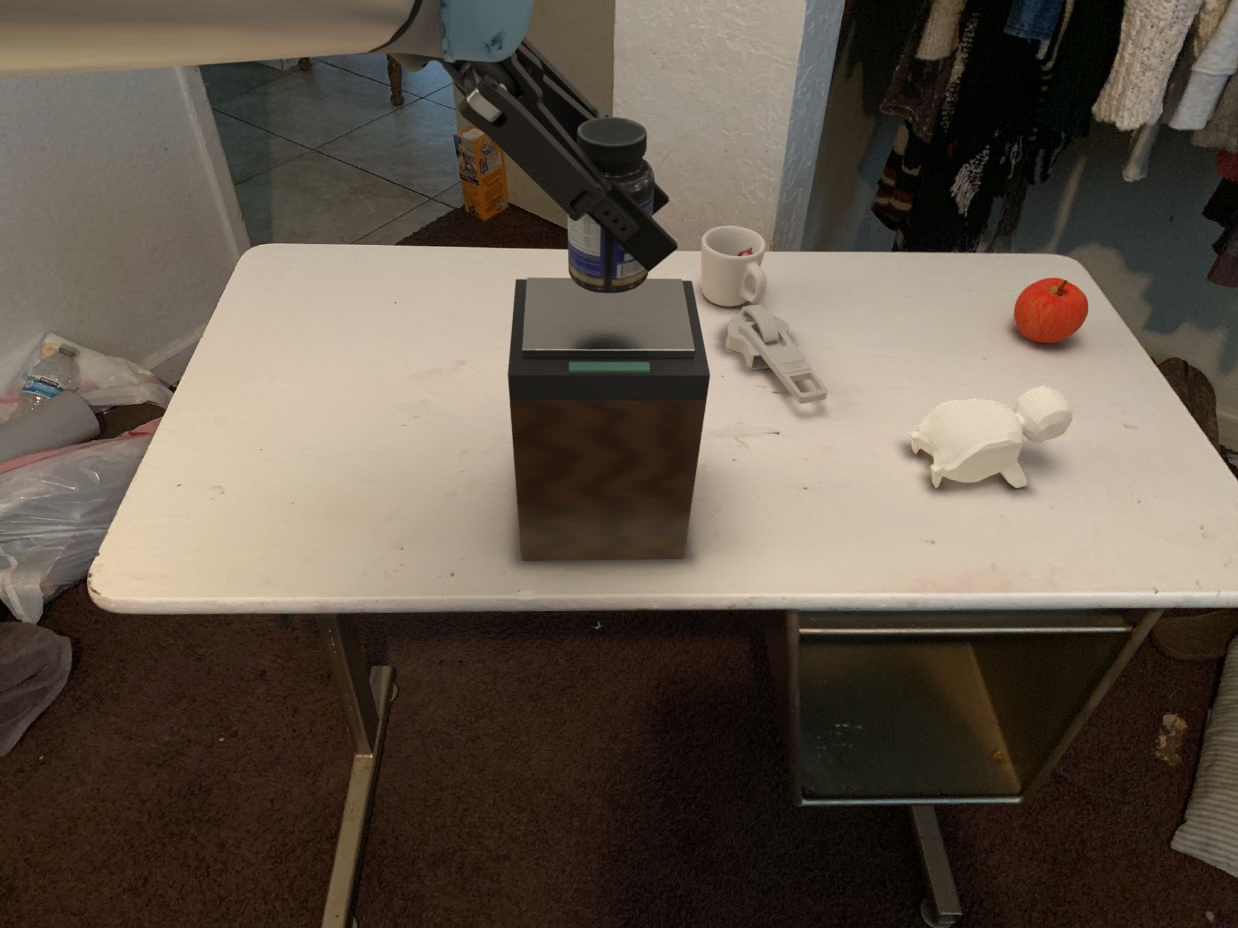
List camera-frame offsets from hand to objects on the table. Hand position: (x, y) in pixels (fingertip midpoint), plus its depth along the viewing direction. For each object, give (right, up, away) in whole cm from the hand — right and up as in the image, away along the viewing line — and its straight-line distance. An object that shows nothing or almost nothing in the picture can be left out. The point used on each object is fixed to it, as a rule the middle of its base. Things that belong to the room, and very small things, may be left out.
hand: (658, 232), depth 61 cm
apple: (+50, -1, +44) cm, 67 cm away
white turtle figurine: (+35, -17, +27) cm, 47 cm away
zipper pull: (+15, -6, +37) cm, 41 cm away
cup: (+12, +4, +47) cm, 49 cm away
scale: (-4, -8, +7) cm, 11 cm away
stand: (-5, -21, +20) cm, 30 cm away
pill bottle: (-4, -3, +2) cm, 5 cm away
